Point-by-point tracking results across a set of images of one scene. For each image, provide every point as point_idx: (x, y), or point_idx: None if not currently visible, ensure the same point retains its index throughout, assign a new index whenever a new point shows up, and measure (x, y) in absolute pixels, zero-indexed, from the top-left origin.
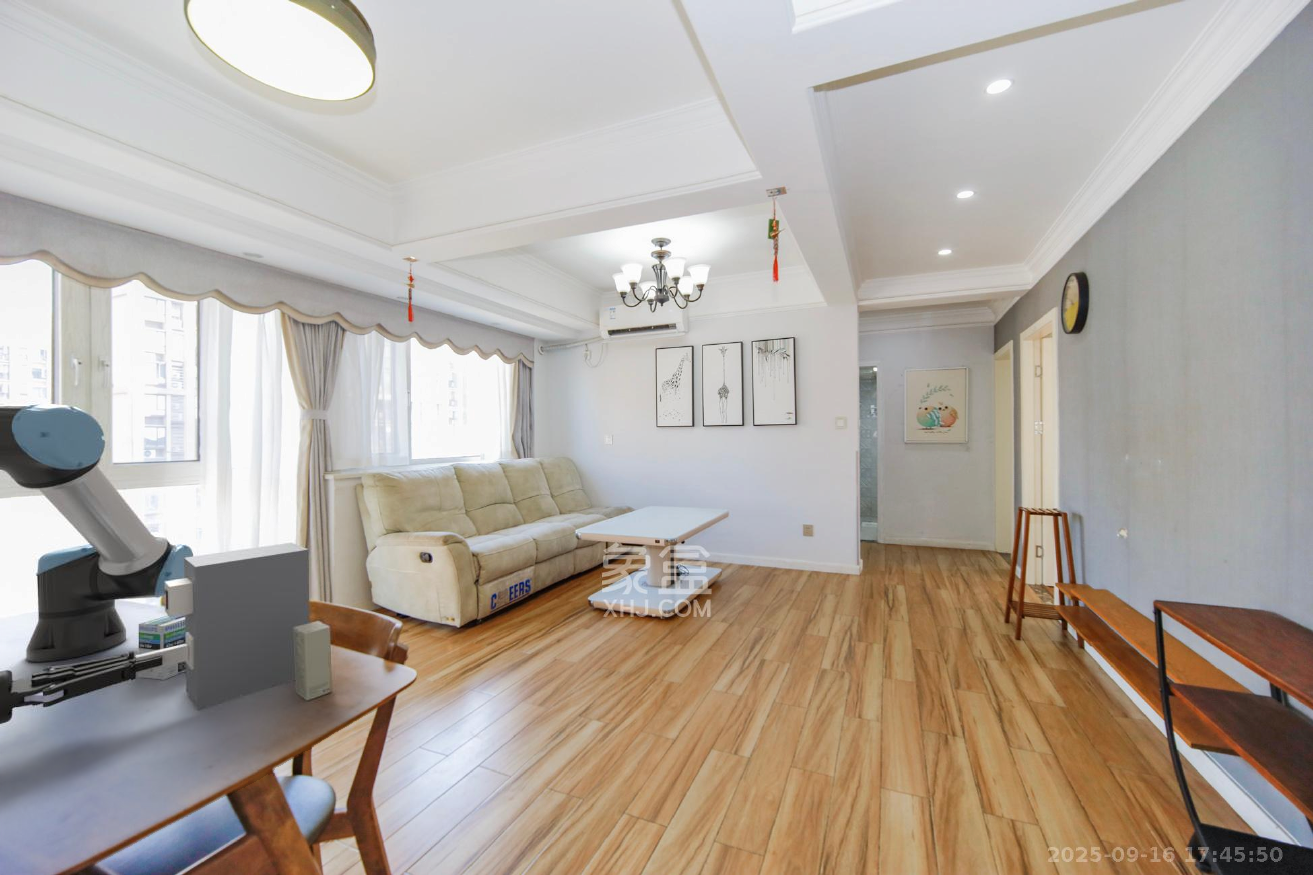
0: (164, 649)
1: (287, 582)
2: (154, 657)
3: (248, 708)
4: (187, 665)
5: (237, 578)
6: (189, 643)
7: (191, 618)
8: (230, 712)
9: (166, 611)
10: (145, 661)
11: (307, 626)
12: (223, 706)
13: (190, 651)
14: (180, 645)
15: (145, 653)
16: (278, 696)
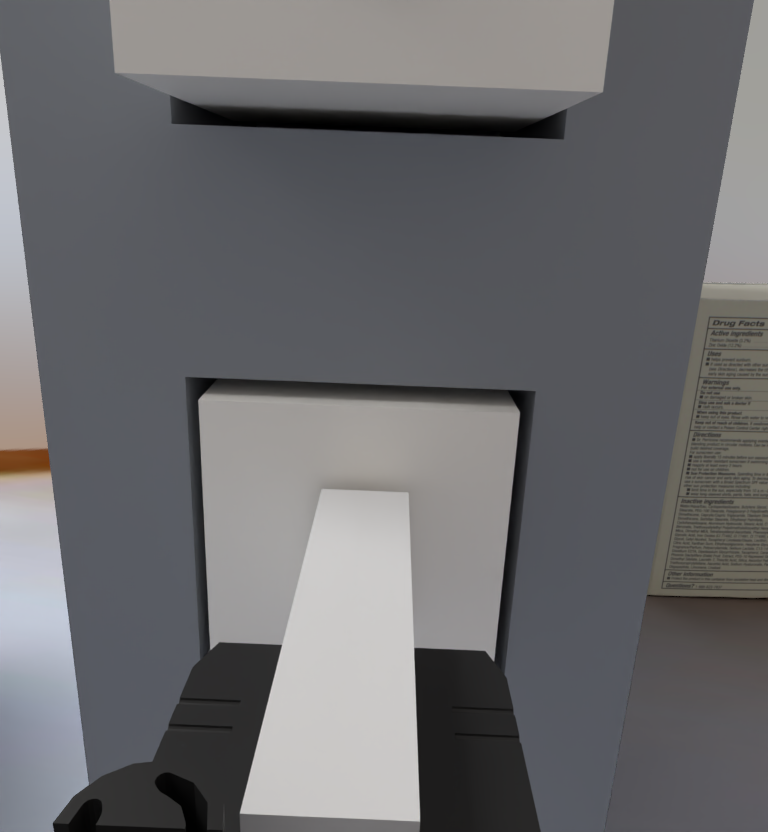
0: (341, 581)
1: None
2: (431, 699)
3: (747, 730)
4: (169, 700)
5: None
6: (426, 468)
7: (435, 202)
8: (758, 792)
9: (258, 46)
10: (529, 789)
11: (727, 291)
12: (631, 796)
13: (467, 533)
14: (342, 510)
15: (292, 709)
16: (662, 636)
